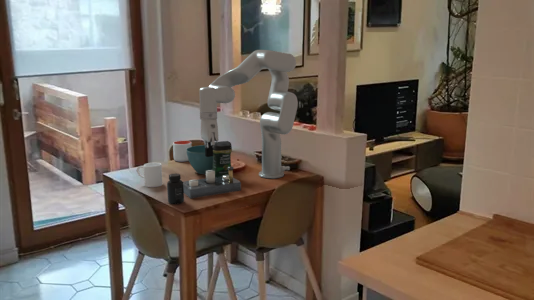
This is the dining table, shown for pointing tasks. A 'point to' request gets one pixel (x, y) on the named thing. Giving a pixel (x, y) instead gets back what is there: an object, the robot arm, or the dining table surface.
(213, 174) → the knob mid
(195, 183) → the knob far
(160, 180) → the mug
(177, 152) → the cup
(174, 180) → the supplement bottle
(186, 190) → the mount
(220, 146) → the coffee jar
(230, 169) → the post
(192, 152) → the teal bowl
